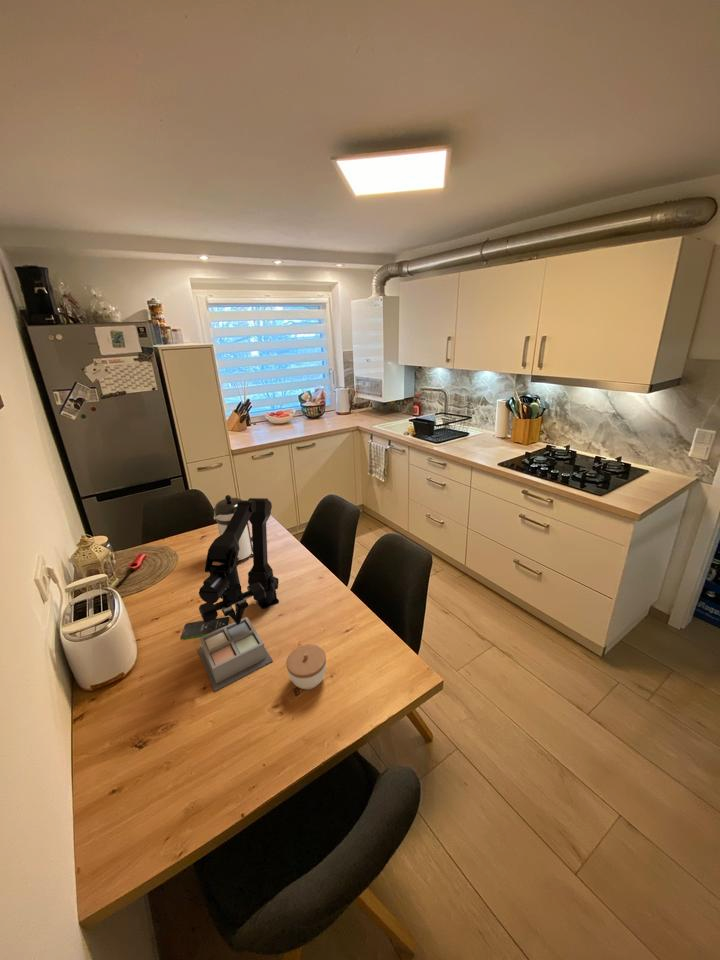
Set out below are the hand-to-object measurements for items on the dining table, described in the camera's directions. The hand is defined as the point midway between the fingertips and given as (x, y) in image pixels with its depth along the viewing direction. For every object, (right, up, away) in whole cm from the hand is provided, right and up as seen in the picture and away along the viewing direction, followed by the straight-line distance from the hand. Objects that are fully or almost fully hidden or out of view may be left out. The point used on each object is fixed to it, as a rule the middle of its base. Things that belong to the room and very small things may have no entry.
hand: (237, 623), depth 118 cm
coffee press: (-15, +10, +53) cm, 56 cm away
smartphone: (-14, -6, +10) cm, 18 cm away
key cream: (-5, -7, -2) cm, 9 cm away
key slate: (0, -6, +2) cm, 6 cm away
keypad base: (0, -9, -2) cm, 9 cm away
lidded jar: (+24, -12, -12) cm, 29 cm away
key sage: (+4, -8, -3) cm, 9 cm away
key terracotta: (-1, -9, -7) cm, 12 cm away
